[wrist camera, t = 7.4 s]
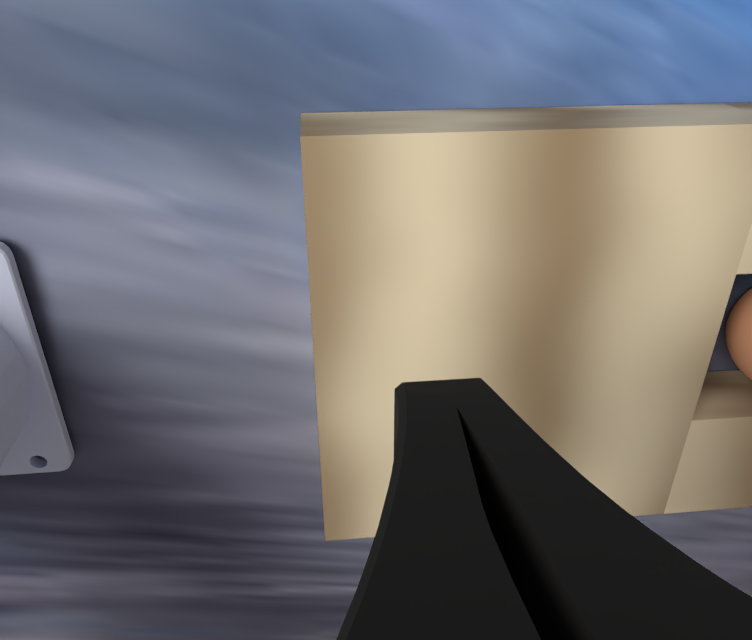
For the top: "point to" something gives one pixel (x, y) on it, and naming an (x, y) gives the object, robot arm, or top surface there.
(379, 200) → the beige flat board
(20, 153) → the top surface
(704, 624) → the robot arm
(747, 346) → the ball
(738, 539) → the top surface
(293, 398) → the top surface
